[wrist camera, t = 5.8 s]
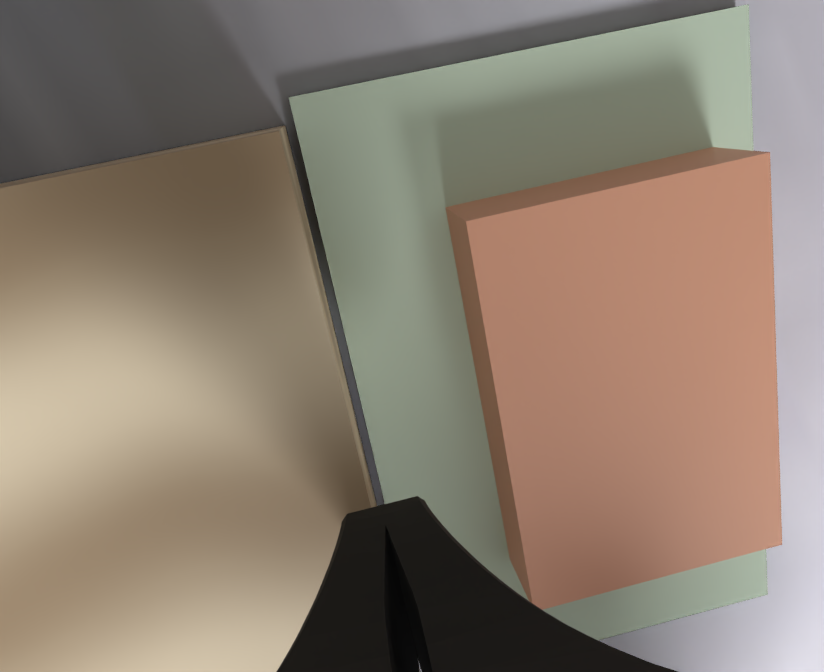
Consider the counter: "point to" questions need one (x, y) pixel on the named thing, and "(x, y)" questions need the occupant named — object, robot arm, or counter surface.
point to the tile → (627, 368)
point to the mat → (435, 263)
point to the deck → (167, 413)
